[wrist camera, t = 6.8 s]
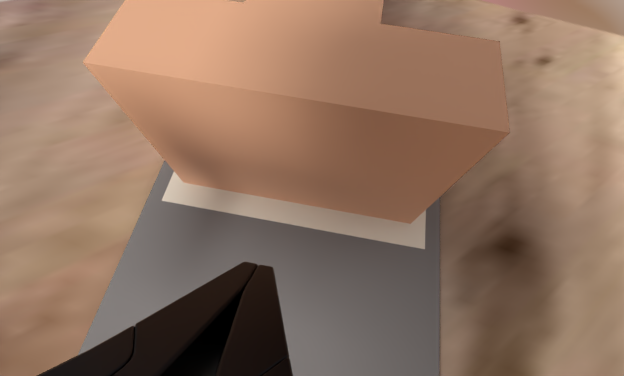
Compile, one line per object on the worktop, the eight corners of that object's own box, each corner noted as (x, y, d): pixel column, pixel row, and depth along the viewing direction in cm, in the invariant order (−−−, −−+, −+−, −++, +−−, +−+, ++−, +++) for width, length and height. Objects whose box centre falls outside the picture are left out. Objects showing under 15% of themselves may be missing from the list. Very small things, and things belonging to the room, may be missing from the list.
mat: (434, 453, 12) (439, 457, 11) (74, 375, 12) (67, 377, 12) (438, 61, 21) (440, 56, 20) (227, 28, 21) (225, 22, 21)
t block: (410, 223, 15) (509, 132, 8) (183, 182, 16) (82, 62, 9) (418, 61, 20) (484, -90, 13) (243, 34, 21) (210, -126, 13)
